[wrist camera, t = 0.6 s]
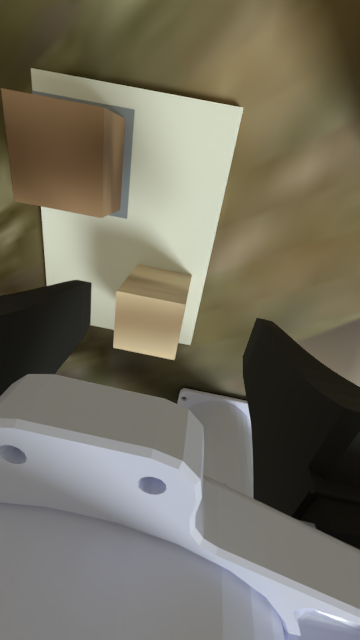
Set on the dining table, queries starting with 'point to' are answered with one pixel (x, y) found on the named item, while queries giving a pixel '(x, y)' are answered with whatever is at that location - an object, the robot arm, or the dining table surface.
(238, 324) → the dining table surface
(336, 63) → the dining table surface
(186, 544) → the robot arm
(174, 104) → the cream flat slab
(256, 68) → the dining table surface
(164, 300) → the maple pillar
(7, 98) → the walnut base
